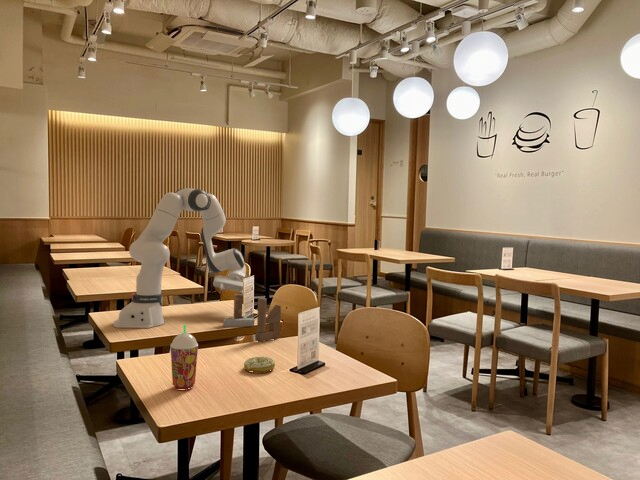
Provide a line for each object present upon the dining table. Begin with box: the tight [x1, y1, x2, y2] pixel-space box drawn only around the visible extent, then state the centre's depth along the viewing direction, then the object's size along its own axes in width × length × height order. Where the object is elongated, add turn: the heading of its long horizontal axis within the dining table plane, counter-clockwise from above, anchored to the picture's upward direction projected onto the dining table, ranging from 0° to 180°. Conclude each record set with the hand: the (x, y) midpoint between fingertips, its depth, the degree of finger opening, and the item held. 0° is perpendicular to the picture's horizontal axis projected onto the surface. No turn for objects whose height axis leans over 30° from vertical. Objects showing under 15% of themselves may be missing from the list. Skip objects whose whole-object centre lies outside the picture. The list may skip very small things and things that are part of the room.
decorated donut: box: [243, 356, 276, 373], centre depth 187 cm, size 10×11×4 cm
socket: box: [223, 315, 255, 328], centre depth 253 cm, size 14×8×3 cm, turn 106°
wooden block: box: [254, 297, 282, 342], centre depth 228 cm, size 4×11×18 cm, turn 133°
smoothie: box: [170, 323, 199, 390], centre depth 166 cm, size 8×8×20 cm
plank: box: [233, 293, 244, 319], centre depth 255 cm, size 4×4×14 cm
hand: (231, 291), depth 263 cm, fingers open, 8 cm apart
